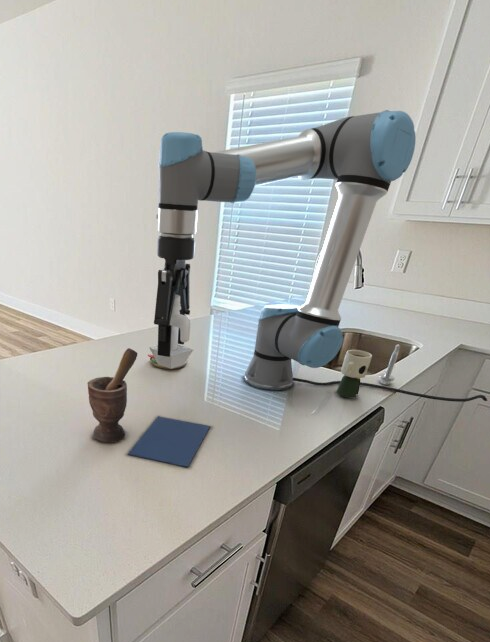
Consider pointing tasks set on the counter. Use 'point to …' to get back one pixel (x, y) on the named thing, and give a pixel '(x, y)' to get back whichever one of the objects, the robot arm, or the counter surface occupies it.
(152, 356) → the toy food set
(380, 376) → the screw
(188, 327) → the figurine
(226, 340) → the counter surface
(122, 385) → the mortar and pestle
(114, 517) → the counter surface
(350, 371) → the character mug
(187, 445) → the felt mat
